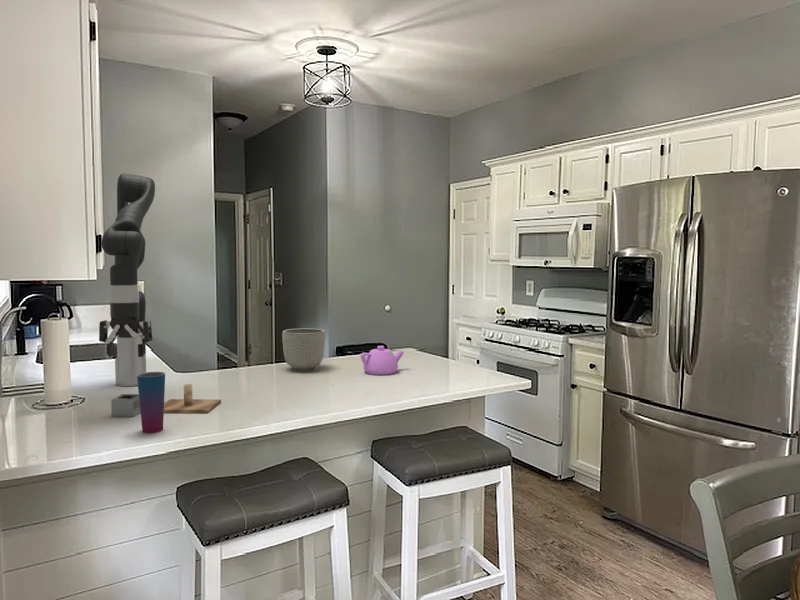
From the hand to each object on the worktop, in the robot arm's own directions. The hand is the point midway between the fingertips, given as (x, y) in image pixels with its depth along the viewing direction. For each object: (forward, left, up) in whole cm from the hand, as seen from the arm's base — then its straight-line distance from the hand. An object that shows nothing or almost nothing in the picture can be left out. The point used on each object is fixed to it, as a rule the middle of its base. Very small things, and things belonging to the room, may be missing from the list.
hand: (126, 356), depth 162 cm
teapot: (+72, +62, -17) cm, 96 cm away
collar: (0, 0, -17) cm, 17 cm away
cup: (+14, -15, -17) cm, 27 cm away
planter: (+40, +65, -17) cm, 78 cm away
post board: (+15, +7, -17) cm, 24 cm away
